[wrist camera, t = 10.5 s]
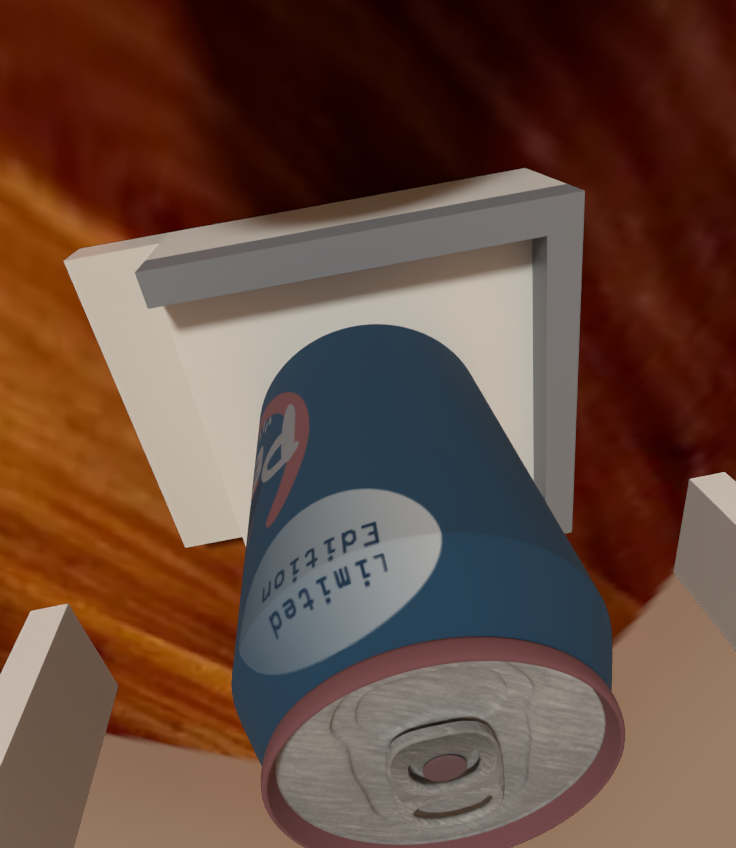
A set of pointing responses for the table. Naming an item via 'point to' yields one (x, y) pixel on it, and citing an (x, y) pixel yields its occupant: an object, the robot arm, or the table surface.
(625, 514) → the table surface
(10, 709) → the robot arm
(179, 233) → the dock
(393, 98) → the table surface
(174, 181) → the table surface
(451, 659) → the soda can
